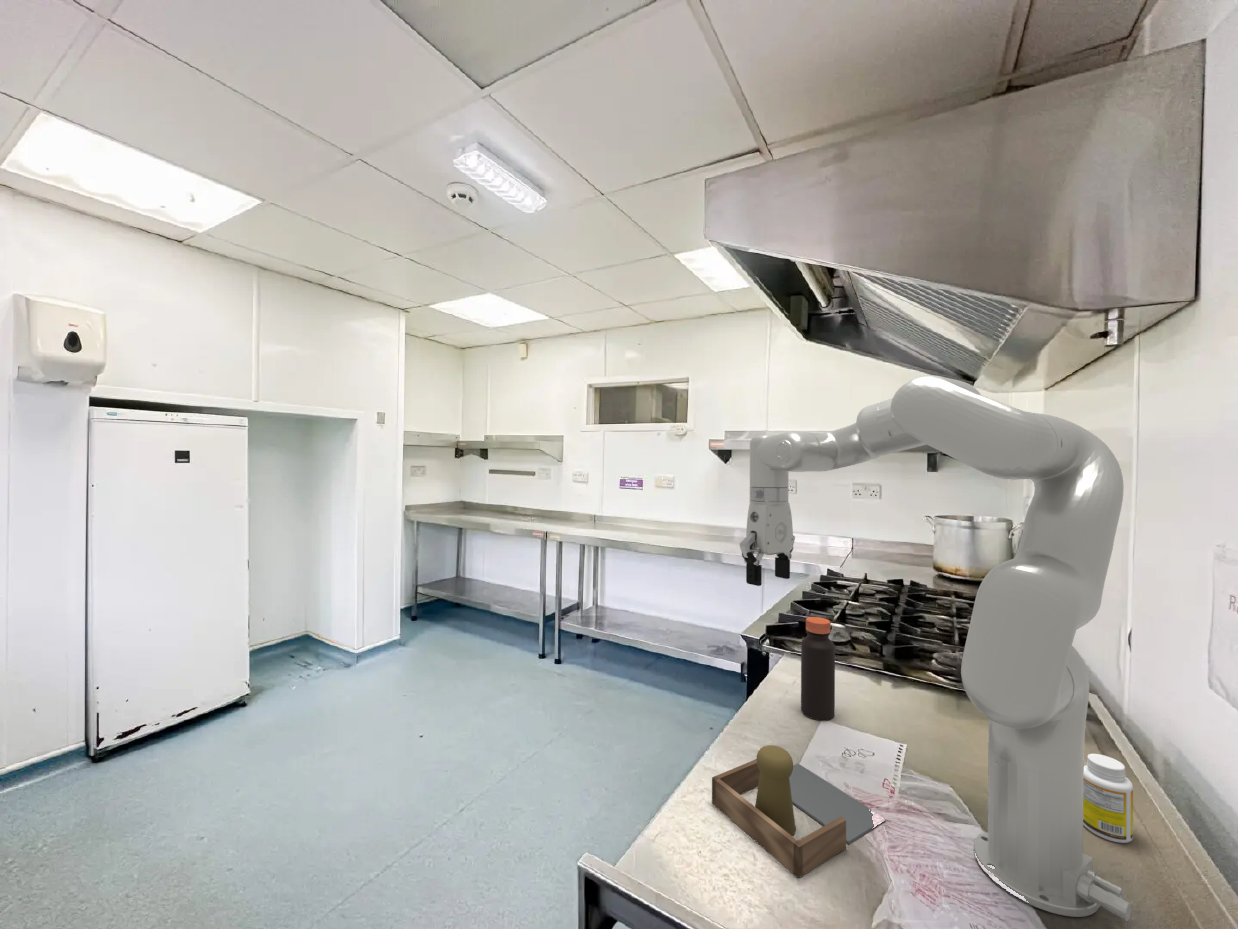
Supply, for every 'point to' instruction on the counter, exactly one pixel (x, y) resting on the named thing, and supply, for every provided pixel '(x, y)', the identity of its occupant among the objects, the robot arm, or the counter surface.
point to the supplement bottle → (1107, 799)
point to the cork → (775, 786)
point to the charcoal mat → (828, 803)
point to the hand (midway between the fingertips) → (768, 581)
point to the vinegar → (818, 671)
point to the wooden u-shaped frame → (765, 831)
